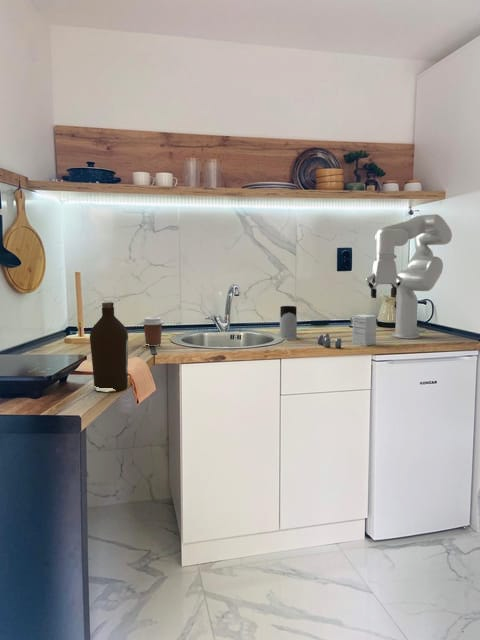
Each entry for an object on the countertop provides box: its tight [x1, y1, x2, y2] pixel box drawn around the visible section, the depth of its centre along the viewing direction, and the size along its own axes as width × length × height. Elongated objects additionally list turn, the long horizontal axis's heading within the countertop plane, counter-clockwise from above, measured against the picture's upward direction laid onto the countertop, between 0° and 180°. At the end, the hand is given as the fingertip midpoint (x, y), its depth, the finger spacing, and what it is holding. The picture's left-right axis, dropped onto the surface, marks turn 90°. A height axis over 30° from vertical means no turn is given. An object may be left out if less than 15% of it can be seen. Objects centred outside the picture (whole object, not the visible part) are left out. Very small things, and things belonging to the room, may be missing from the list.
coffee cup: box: [141, 316, 164, 347], centre depth 202 cm, size 9×9×12 cm
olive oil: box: [89, 301, 129, 393], centre depth 134 cm, size 11×11×25 cm
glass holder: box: [279, 305, 298, 341], centre depth 221 cm, size 9×14×15 cm, turn 179°
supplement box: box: [351, 313, 377, 347], centre depth 204 cm, size 7×7×13 cm
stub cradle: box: [317, 333, 342, 350], centre depth 201 cm, size 6×15×4 cm, turn 13°
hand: (383, 297), depth 204 cm, fingers open, 9 cm apart
